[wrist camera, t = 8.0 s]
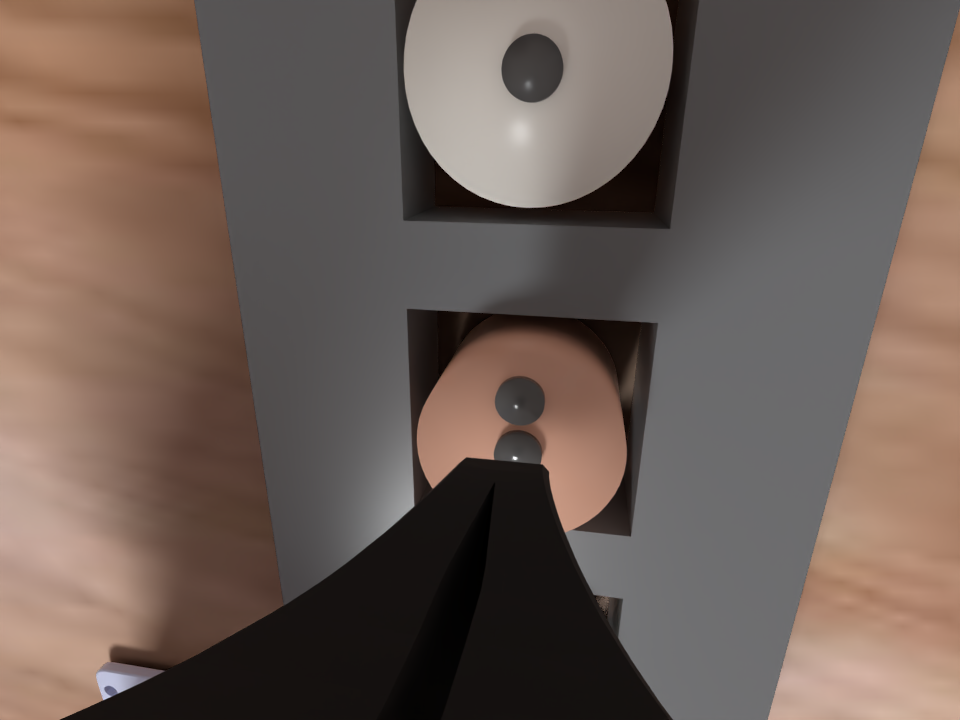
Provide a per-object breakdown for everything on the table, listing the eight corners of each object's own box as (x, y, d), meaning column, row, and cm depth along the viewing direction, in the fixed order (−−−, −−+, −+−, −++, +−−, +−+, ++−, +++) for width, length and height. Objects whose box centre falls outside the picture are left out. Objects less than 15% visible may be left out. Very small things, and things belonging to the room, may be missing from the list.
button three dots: (609, 469, 14) (616, 556, 11) (450, 453, 15) (417, 532, 12) (626, 311, 13) (638, 364, 10) (448, 302, 13) (409, 348, 10)
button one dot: (638, 194, 12) (656, 213, 9) (447, 190, 12) (404, 205, 9) (663, -37, 10) (695, -109, 7) (445, -29, 11) (393, -92, 8)
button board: (718, 733, 17) (738, 825, 15) (338, 672, 19) (304, 745, 17) (936, -222, 9) (1054, -343, 7) (246, -168, 11) (158, -249, 9)
